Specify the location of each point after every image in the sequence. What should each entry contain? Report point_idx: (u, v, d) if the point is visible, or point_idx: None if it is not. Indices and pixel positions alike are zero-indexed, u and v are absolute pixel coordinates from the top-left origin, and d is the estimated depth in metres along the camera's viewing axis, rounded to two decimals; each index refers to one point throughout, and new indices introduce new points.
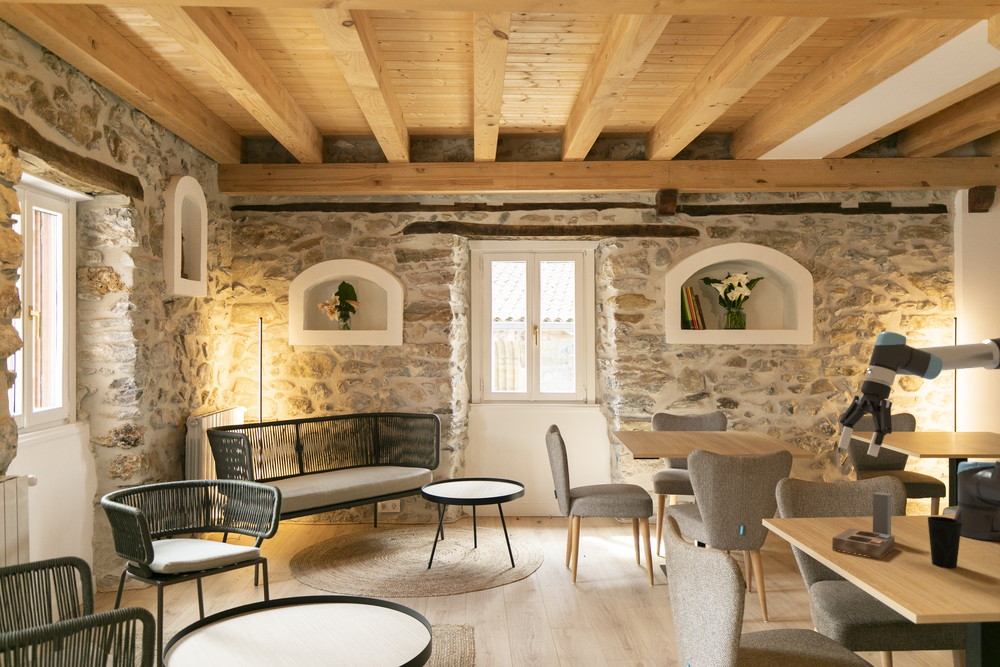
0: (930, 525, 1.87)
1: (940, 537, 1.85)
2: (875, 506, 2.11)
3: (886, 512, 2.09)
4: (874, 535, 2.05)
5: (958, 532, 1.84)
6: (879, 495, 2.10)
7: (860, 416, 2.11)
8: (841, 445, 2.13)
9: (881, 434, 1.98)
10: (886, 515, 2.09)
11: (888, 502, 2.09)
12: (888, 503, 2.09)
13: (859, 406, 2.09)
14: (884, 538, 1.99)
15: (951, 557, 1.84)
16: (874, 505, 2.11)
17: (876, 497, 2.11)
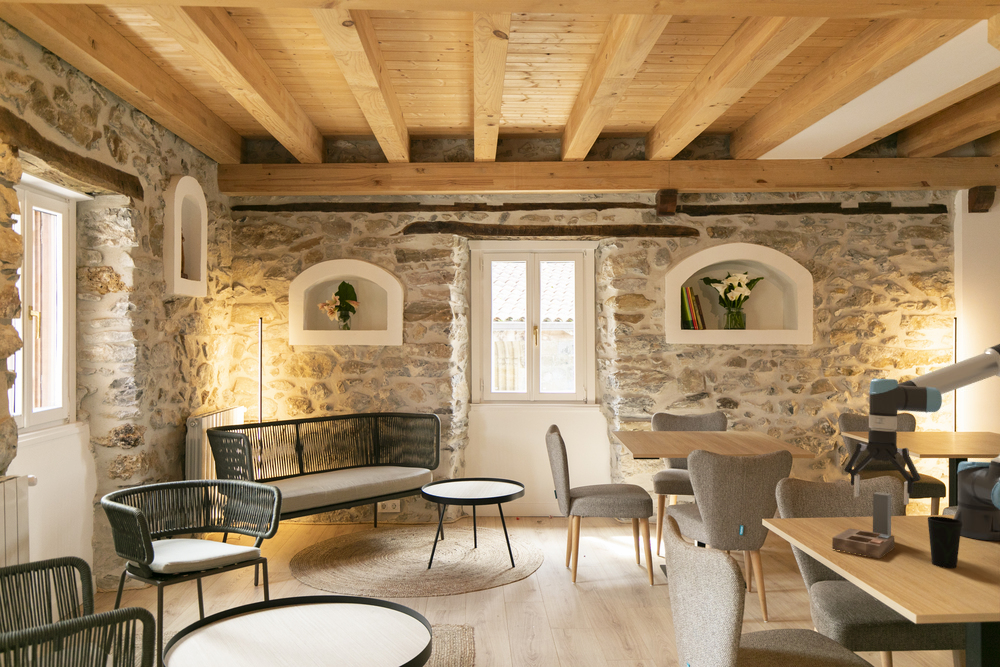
0: (930, 525, 1.87)
1: (940, 537, 1.85)
2: (875, 506, 2.11)
3: (886, 512, 2.09)
4: (874, 535, 2.05)
5: (958, 532, 1.84)
6: (879, 495, 2.10)
7: None
8: (857, 495, 2.15)
9: (912, 483, 2.06)
10: (886, 515, 2.09)
11: (888, 502, 2.09)
12: (888, 503, 2.09)
13: (871, 455, 2.12)
14: (884, 538, 1.99)
15: (951, 557, 1.84)
16: (874, 505, 2.11)
17: (876, 497, 2.11)
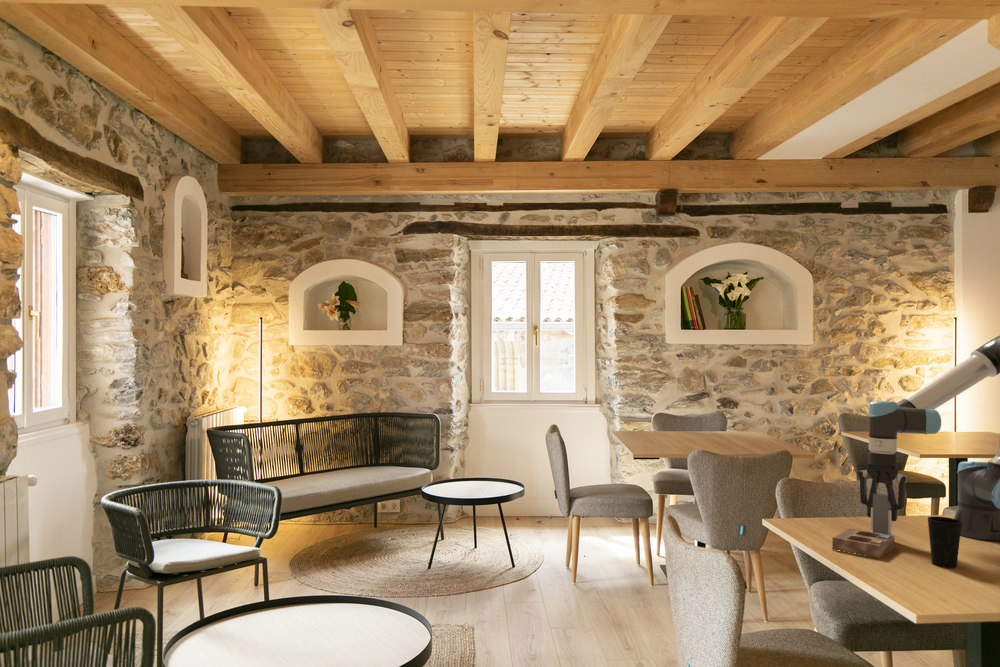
0: (930, 525, 1.87)
1: (940, 537, 1.85)
2: (875, 506, 2.11)
3: (886, 512, 2.09)
4: (874, 535, 2.05)
5: (958, 532, 1.84)
6: (879, 495, 2.10)
7: (876, 489, 2.13)
8: None
9: (896, 510, 2.09)
10: (886, 515, 2.09)
11: (888, 502, 2.09)
12: (888, 503, 2.09)
13: None
14: (884, 538, 1.99)
15: (951, 557, 1.84)
16: (874, 505, 2.11)
17: (876, 497, 2.11)
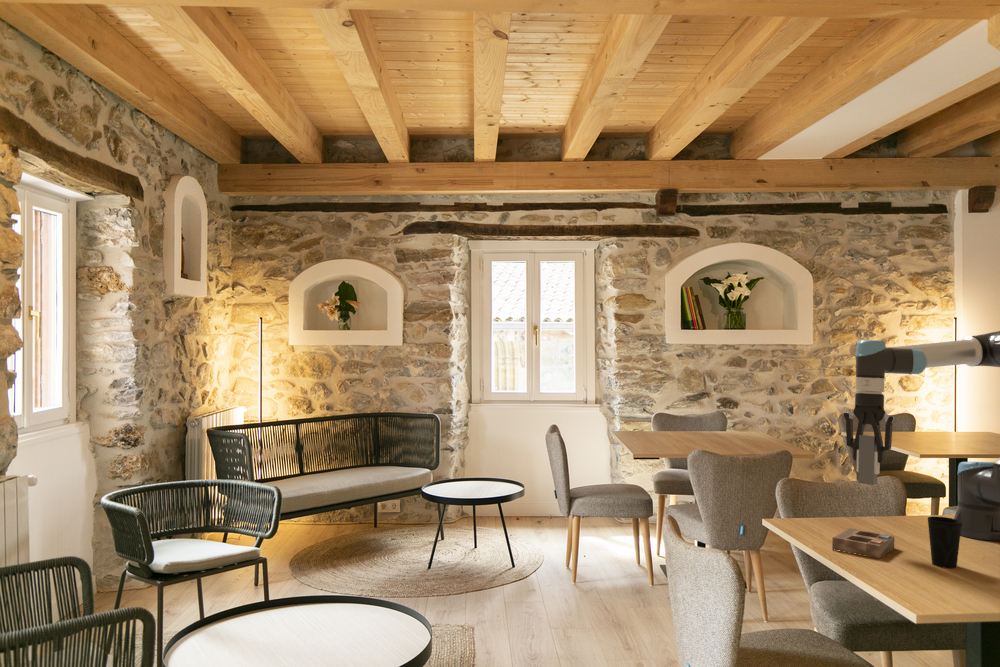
0: (930, 525, 1.87)
1: (940, 537, 1.85)
2: (861, 448, 2.05)
3: (872, 453, 2.03)
4: (874, 535, 2.05)
5: (958, 532, 1.84)
6: (865, 436, 2.04)
7: (863, 431, 2.07)
8: None
9: (882, 452, 2.03)
10: (872, 456, 2.03)
11: (874, 443, 2.03)
12: (874, 444, 2.03)
13: (858, 419, 2.06)
14: (884, 538, 1.99)
15: (951, 557, 1.84)
16: (860, 447, 2.05)
17: (862, 439, 2.05)
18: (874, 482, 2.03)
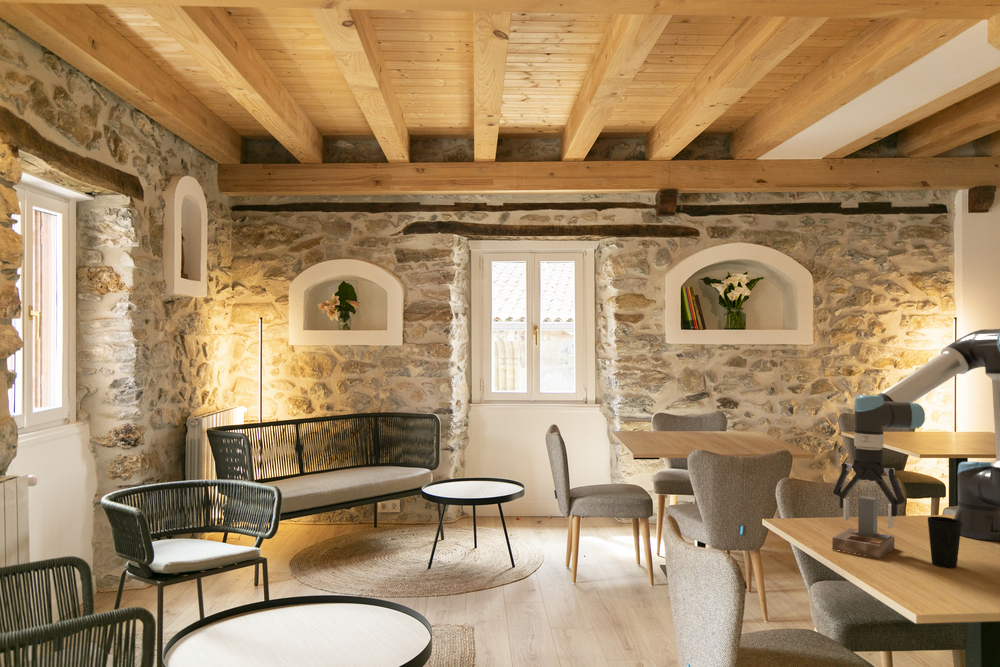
0: (930, 525, 1.87)
1: (940, 537, 1.85)
2: (861, 511, 2.04)
3: (872, 517, 2.01)
4: None
5: (958, 532, 1.84)
6: (865, 499, 2.03)
7: None
8: (846, 518, 2.07)
9: (896, 505, 1.99)
10: (872, 520, 2.01)
11: (874, 507, 2.02)
12: (874, 508, 2.02)
13: (857, 475, 2.05)
14: (884, 538, 1.99)
15: (951, 557, 1.84)
16: (860, 510, 2.04)
17: (862, 502, 2.03)
18: None
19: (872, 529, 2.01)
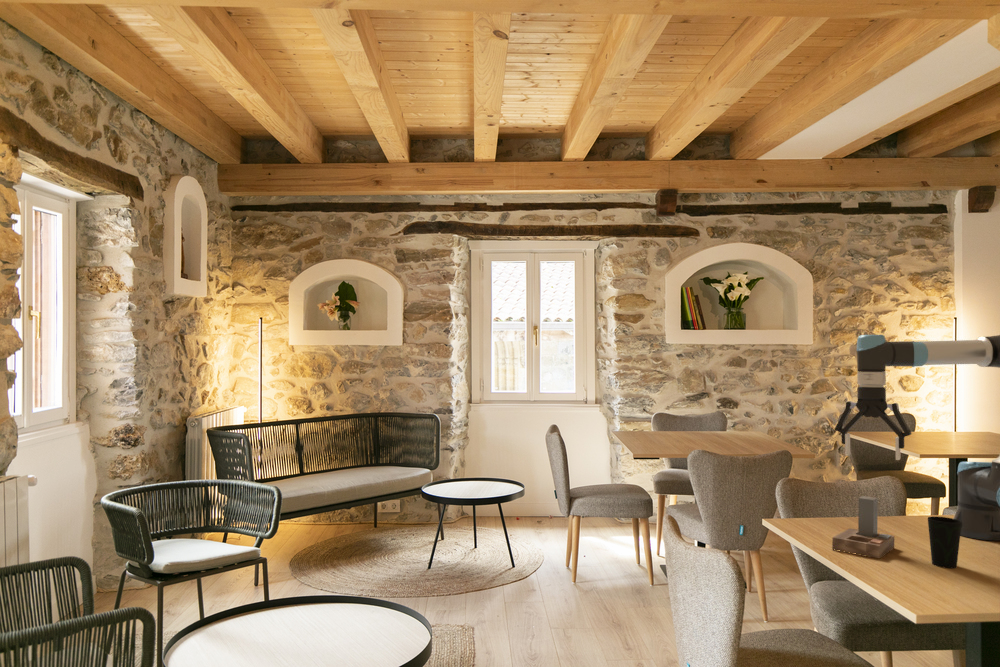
0: (930, 525, 1.87)
1: (940, 537, 1.85)
2: (861, 511, 2.04)
3: (872, 517, 2.01)
4: None
5: (958, 532, 1.84)
6: (865, 499, 2.03)
7: None
8: (848, 453, 2.13)
9: (903, 437, 2.04)
10: (872, 520, 2.01)
11: (874, 507, 2.02)
12: (874, 508, 2.02)
13: (861, 413, 2.10)
14: (884, 538, 1.99)
15: (951, 557, 1.84)
16: (860, 510, 2.04)
17: (862, 502, 2.03)
18: None
19: (872, 529, 2.01)
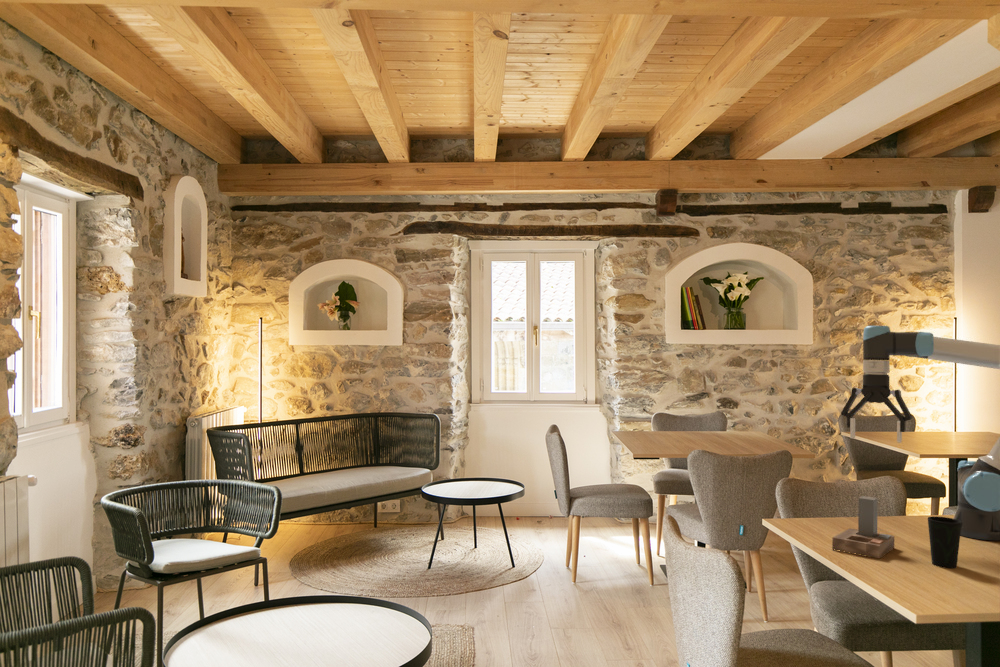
0: (930, 525, 1.87)
1: (940, 537, 1.85)
2: (861, 511, 2.04)
3: (872, 517, 2.01)
4: None
5: (958, 532, 1.84)
6: (865, 499, 2.03)
7: (862, 406, 2.28)
8: (853, 436, 2.28)
9: (905, 422, 2.19)
10: (872, 520, 2.01)
11: (874, 507, 2.02)
12: (874, 508, 2.02)
13: (865, 398, 2.25)
14: (884, 538, 1.99)
15: (951, 557, 1.84)
16: (860, 510, 2.04)
17: (862, 502, 2.03)
18: None
19: (872, 529, 2.01)
